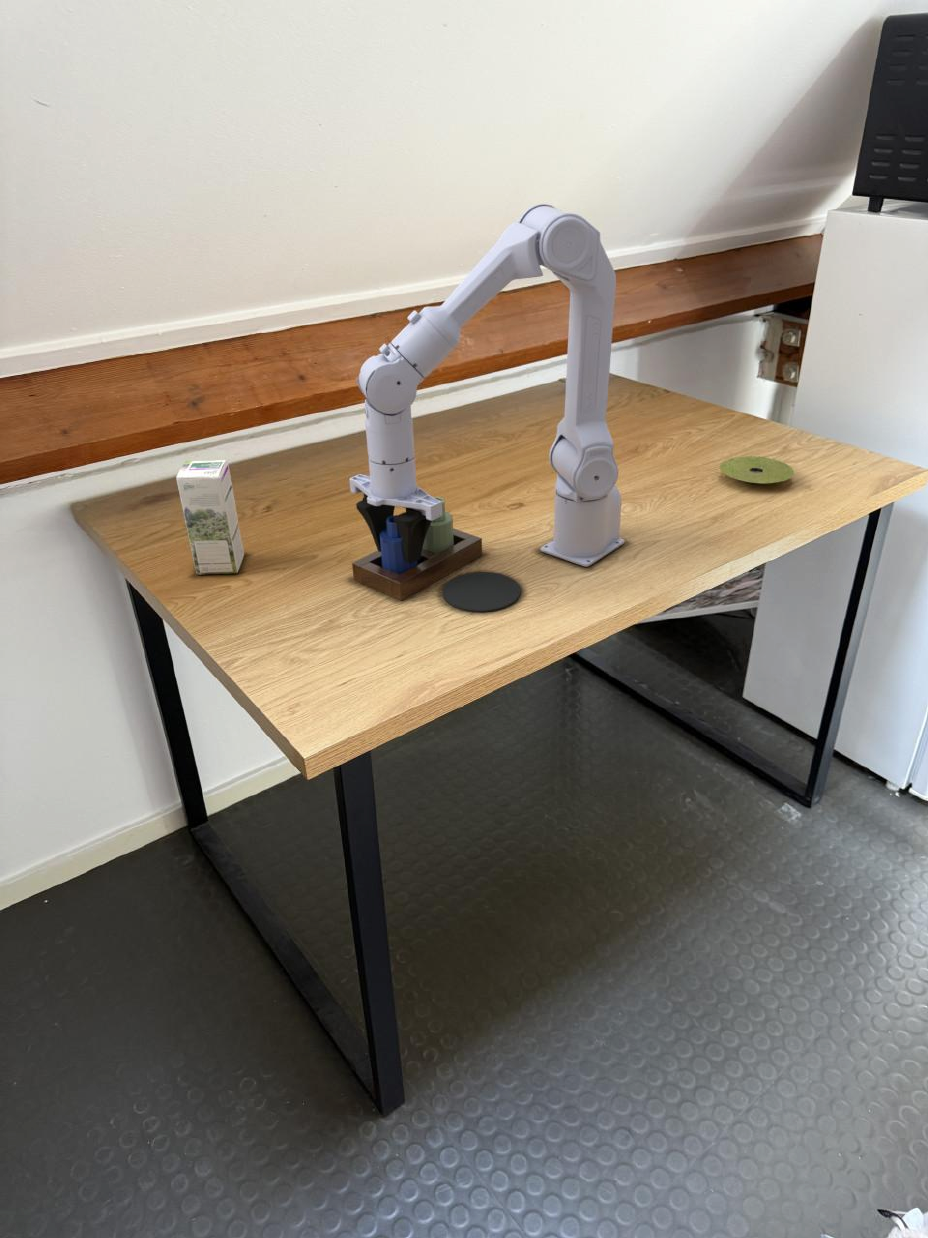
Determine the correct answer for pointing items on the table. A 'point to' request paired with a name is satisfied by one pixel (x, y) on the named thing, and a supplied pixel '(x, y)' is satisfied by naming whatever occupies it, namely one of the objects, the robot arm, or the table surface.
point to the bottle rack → (417, 567)
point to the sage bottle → (440, 532)
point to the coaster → (481, 592)
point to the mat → (756, 469)
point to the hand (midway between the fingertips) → (399, 554)
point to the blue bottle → (393, 549)
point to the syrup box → (210, 516)
